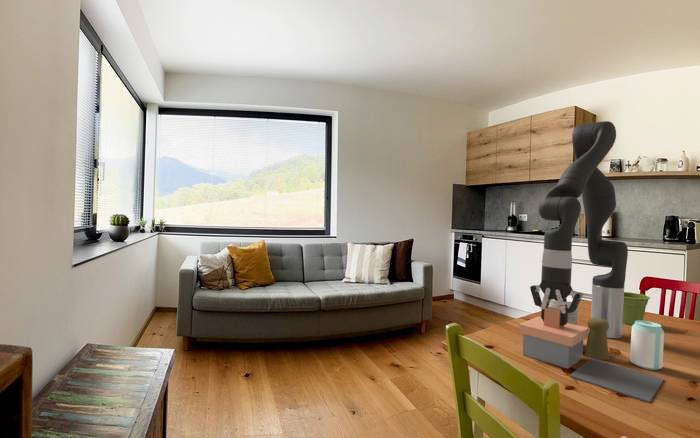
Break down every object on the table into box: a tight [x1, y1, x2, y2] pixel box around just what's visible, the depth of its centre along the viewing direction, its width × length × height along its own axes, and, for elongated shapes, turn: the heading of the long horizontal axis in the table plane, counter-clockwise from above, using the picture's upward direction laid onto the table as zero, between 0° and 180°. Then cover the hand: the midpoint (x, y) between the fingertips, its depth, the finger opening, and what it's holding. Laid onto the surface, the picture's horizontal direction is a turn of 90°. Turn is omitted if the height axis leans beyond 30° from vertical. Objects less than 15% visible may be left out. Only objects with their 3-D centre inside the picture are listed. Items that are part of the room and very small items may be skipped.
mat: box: [569, 357, 665, 404], centre depth 93 cm, size 18×16×1 cm
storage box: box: [522, 334, 584, 370], centre depth 106 cm, size 12×12×8 cm
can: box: [629, 320, 665, 371], centre depth 102 cm, size 7×7×12 cm
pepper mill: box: [584, 317, 610, 361], centre depth 108 cm, size 6×6×11 cm
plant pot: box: [623, 291, 651, 326], centre depth 143 cm, size 12×12×11 cm
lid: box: [518, 307, 590, 347], centre depth 106 cm, size 14×14×8 cm
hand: (553, 323), depth 106 cm, fingers closed on lid, 4 cm apart
